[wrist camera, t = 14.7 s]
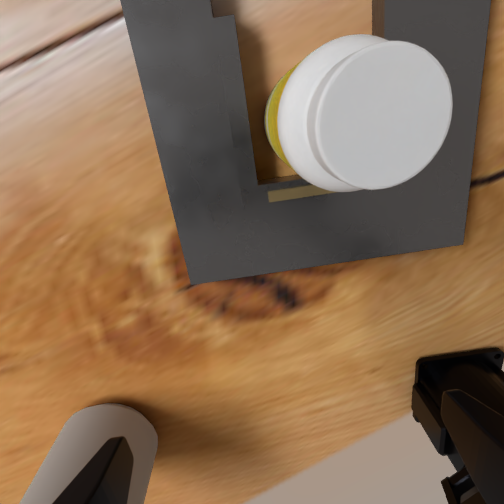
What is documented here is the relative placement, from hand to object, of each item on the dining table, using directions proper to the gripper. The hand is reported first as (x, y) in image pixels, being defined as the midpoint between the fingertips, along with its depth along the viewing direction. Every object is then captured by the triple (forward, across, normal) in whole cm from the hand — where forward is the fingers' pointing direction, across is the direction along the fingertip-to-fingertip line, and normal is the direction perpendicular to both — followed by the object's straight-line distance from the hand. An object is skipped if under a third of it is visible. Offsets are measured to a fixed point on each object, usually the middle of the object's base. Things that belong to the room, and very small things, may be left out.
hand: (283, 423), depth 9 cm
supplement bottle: (+13, -4, -7) cm, 16 cm away
